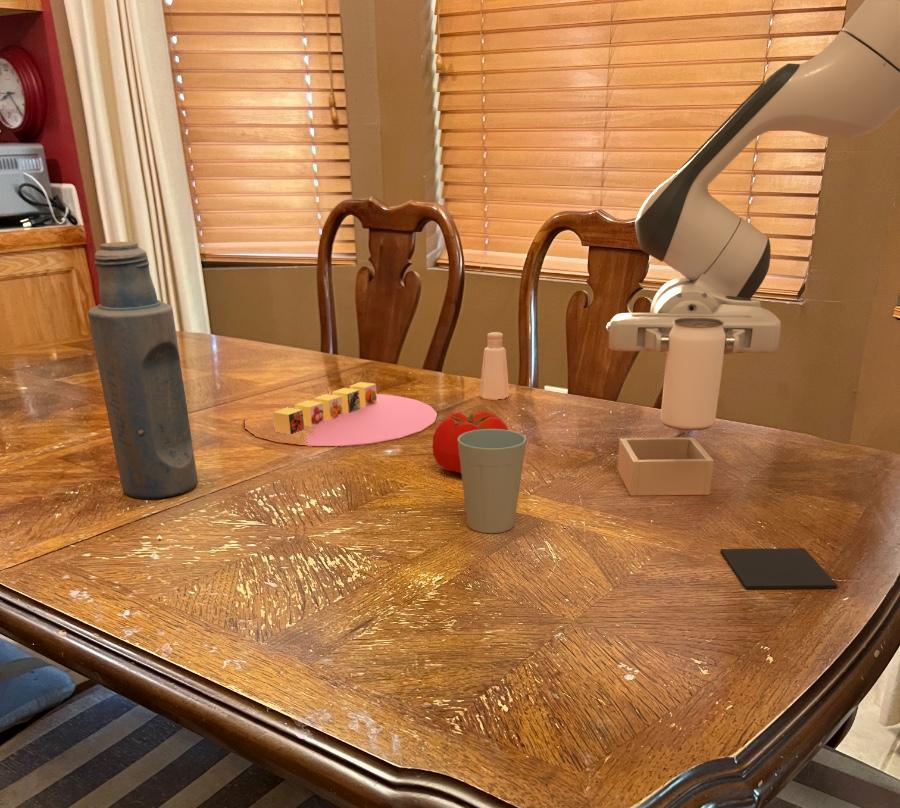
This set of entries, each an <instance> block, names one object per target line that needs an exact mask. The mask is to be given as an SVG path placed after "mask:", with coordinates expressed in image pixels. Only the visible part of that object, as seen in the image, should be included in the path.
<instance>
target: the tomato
mask: <svg viewBox="0 0 900 808" xmlns="http://www.w3.org/2000/svg"><path fill="white" fill-rule="evenodd" d="M481 429H503V430H509V427H508V426H507V424H506V423H505V422H504V421H503V419H502V418H500V417H499V416H498V415H497V414H496V413H493V412H491V411H485V410H482V411H477V412H475V413H473V412H470V414H469V416H466V415H465V414H463V413H462V412H461V411H456V412H453V413H451V414H449V415H448V416H446V418H445V419H443V420H442V421H441V422H440V424H438V425H437V426H436V427H435V430H434V432H433V435H432V454H433V457H434V460H435V461H436V463H437V464H438V465H440V466H441V468H443V469H444V470H447V471H448V472H456V473H458V474H461V475H462V473H461V464H460V456H459V448H458V437H459V436H460V435H461V434H463V433H466V432H469V431H474V430H481Z"/></svg>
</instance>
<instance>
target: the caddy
mask: <svg viewBox="0 0 900 808" xmlns="http://www.w3.org/2000/svg"><path fill="white" fill-rule="evenodd" d="M617 454H618V456H617V466H616V467H617V468H616V471H617V473H618V474H619V477H620V478H621V480H622V483H623V484H624V486H625V488H626V490H627V491H628V493H629V496H631V497H634V496H637V497H640V496H641V497H642V496H643V497H644V496H645V497H646V496H649V497H650V496H710V495H711V488H712V482H713V481H712V480H713V473H714V467H715V466H714V464H715V460H714V459H713V458H712V456H711V455H710V454H709V453H708V451H706V449H704V447H703V446H702V445H701V444H700V442H699V441H698V440H697V439H696V438H695V437H694V436H693V437H692V436H691V437H690V436H689V437H619V442H618V453H617Z"/></svg>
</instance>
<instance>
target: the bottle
mask: <svg viewBox="0 0 900 808" xmlns="http://www.w3.org/2000/svg"><path fill="white" fill-rule="evenodd" d="M94 265H95V266H96V267H95V268H96V271H97V276H98V291H99V292H98V294H99V301H100V303H99V304H98V305H95V306H92V307H91V308H89V309H88V311H87V316H88V323H89V330H90V335H91V339H92V343H93V344H92V345H93V348H94V352H95V357H96V363H97V368H98V372H99V373H98V374H99V377H100V382H101V388H102V394H103V398H104V399H103V400H104V403H105V407H106V413H107V418H108V424H109V428H110V434H111V440H112V444H113V445H112V446H113V450H114V455H115V459H116V464H117V469H118V474H119V479H120V484H121V489H122V492H123V493H124V494H126V495H127V496H130V497H132V498H136V499H143V500H145V499H146V500H157V499H158V500H159V499H165V498H171V496H172V497H176V495H177V496H180V495H183V494H185V493H188V492H190V491H192V490H193V489H194V488H195V487H196V486H197V485H198V481H199V480H198V473H197V467H196V460H195V459H196V458H195V454H194V446H193V440H192V439H193V438H192V432H191V426H190V419H189V411H188V405H187V404H188V403H187V398H186V397H187V396H186V391H185V384H184V379H183V378H184V377H183V372H182V371H183V370H182V366H181V358H180V351H179V343H178V338H177V329H176V324H175V317H174V311H173V307H172V306H171V305H170V304H169V303H166V302H162V301H161V300H159V299H158V296H157V295H158V294H157V291H156V288H155V285H154V282H153V279H152V275H151V272H150V261H149V257H148V254H147V252H146V250H145V249H143V248H141V247H139V244H138V243H137V242H135V241H115V242H114V241H113V242H105V243H104V242H103V243H102V244H100V249H98V251H96V252H95V253H94ZM179 494H180V495H179Z"/></svg>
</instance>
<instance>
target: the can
mask: <svg viewBox="0 0 900 808" xmlns="http://www.w3.org/2000/svg"><path fill="white" fill-rule="evenodd" d="M723 324H724V322H723V321H721V320H718V319H712V318H680V319H676V320H674V326H673V328H672V330H671V331H670V333H669V344H668V347H669V348H668V352H667V355H666V356H665V357H666V358H665V366H664V376H663V377H664V378H663V386H662V387H663V388H662V397H661V408H660V421H661V423H662V424H663V426H666V427H668V428H671V429H674V430H680V431H704V430H707V429H710V428H711V427H712V426H713V425H714V424H715V423H716V419H717V412H718V411H717V410H718V402H719V395H720V387H721V381H722V380H721V379H722V373H723V371H722V370H723V366H724V365H723V363H724V355H725V354H724V348H725V339H726V336H725V332H724V329H723Z"/></svg>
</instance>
